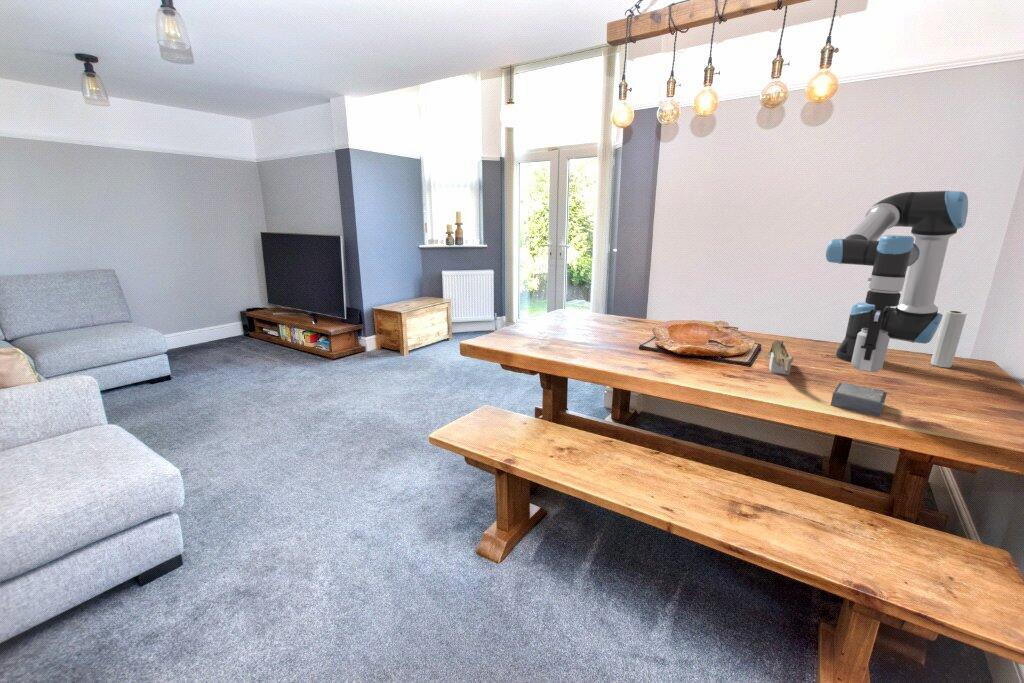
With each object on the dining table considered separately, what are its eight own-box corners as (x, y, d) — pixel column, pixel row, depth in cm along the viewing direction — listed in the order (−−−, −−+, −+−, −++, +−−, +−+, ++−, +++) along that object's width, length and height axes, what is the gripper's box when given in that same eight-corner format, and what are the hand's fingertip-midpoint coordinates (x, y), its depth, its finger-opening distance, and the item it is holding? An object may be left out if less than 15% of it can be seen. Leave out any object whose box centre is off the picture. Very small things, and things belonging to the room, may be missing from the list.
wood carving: (770, 386, 152) (775, 355, 149) (761, 357, 183) (766, 331, 180) (801, 391, 149) (807, 358, 146) (787, 360, 180) (792, 333, 177)
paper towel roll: (939, 367, 173) (955, 313, 167) (926, 362, 179) (940, 309, 173) (958, 368, 173) (975, 313, 167) (944, 363, 178) (959, 310, 173)
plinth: (837, 394, 147) (840, 380, 145) (884, 404, 139) (887, 390, 138) (830, 405, 138) (833, 391, 137) (880, 416, 130) (883, 402, 129)
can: (850, 363, 140) (858, 325, 137) (880, 367, 136) (890, 329, 133) (850, 369, 134) (859, 330, 131) (882, 374, 130) (892, 334, 127)
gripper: (871, 285, 138) (855, 356, 145) (863, 293, 124) (845, 372, 130) (903, 288, 134) (885, 362, 140) (898, 296, 119) (878, 378, 125)
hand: (866, 366), depth 135 cm, fingers closed on can, 7 cm apart
